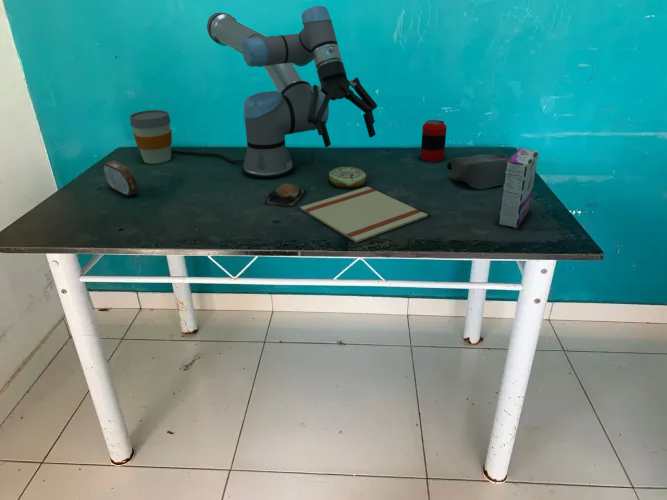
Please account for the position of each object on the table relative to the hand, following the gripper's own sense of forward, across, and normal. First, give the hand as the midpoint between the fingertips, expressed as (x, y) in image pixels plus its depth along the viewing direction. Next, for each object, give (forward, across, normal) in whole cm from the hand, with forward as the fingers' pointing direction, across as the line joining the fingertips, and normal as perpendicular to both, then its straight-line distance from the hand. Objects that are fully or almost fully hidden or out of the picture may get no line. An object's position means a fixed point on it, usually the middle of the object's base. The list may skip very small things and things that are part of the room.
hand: (350, 141), depth 142 cm
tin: (-5, -60, +31) cm, 68 cm away
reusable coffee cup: (-17, -46, +53) cm, 72 cm away
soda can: (+8, +35, +18) cm, 40 cm away
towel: (+20, -5, -6) cm, 21 cm away
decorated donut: (+10, +1, +12) cm, 15 cm away
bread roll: (+10, -19, +10) cm, 24 cm away
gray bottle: (+20, +35, -2) cm, 41 cm away
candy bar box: (+32, +27, -23) cm, 47 cm away
